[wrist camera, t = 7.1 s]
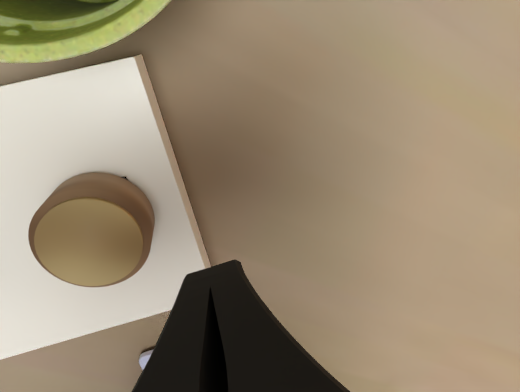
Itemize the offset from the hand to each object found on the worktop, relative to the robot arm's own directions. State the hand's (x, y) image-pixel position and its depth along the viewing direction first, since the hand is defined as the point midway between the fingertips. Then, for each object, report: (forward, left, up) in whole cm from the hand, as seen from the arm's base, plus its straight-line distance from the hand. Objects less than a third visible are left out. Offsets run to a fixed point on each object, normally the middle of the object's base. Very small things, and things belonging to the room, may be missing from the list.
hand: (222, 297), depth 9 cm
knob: (0, +5, -10) cm, 11 cm away
